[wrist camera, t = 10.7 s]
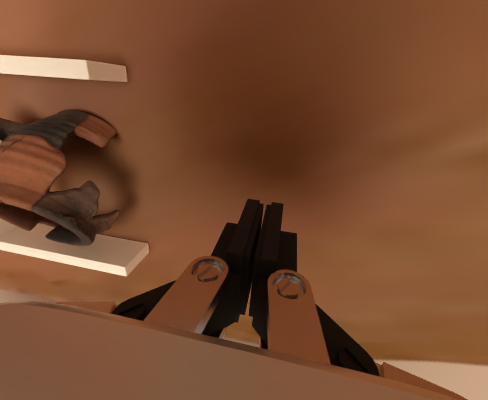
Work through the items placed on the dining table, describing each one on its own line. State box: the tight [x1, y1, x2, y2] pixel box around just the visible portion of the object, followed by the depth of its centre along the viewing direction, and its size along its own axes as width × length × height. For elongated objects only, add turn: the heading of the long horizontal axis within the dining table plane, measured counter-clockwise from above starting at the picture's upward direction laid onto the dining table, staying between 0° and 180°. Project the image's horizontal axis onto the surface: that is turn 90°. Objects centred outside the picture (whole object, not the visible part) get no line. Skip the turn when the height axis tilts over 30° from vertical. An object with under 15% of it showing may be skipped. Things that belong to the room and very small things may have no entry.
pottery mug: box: [0, 110, 120, 246], centre depth 19 cm, size 12×10×8 cm
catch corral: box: [0, 55, 149, 276], centre depth 20 cm, size 16×14×4 cm
